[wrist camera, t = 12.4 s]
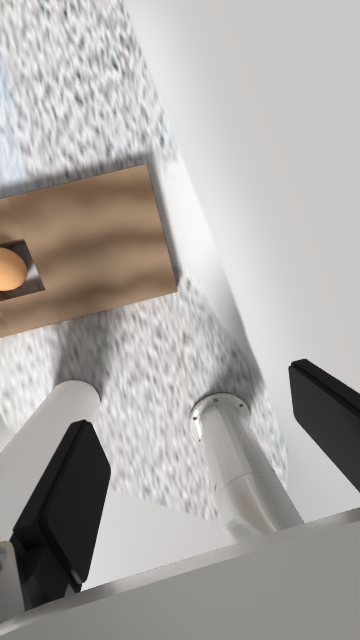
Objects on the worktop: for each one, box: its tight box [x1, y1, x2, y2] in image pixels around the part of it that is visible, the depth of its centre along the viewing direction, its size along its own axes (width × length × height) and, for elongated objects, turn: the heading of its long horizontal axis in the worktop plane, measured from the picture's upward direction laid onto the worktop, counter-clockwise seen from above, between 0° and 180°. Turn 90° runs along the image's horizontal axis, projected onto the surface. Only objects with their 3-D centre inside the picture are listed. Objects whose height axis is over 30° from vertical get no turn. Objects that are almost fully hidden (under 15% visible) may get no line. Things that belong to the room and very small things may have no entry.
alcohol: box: [0, 380, 100, 542], centre depth 25 cm, size 9×9×30 cm
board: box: [0, 164, 178, 338], centre depth 32 cm, size 18×30×2 cm, turn 104°
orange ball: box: [0, 247, 27, 291], centre depth 30 cm, size 6×6×6 cm
